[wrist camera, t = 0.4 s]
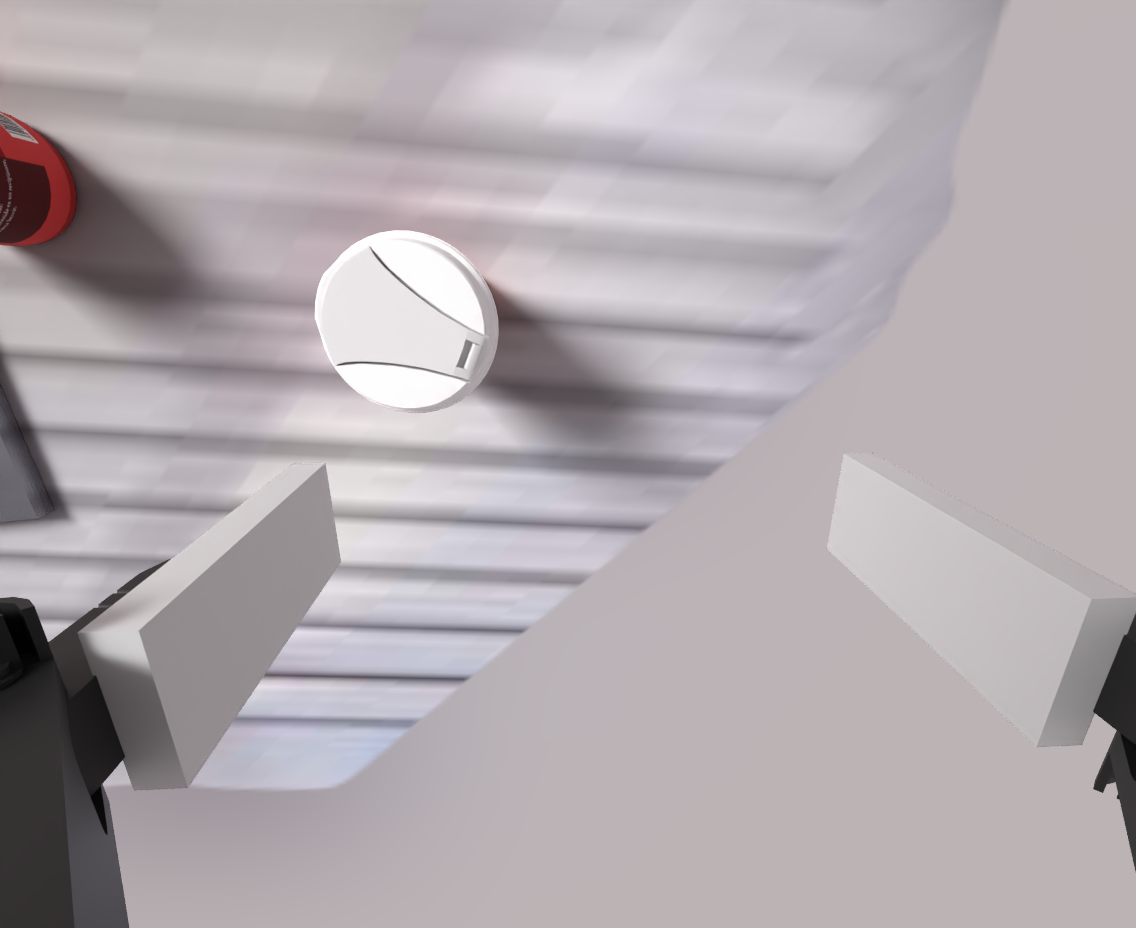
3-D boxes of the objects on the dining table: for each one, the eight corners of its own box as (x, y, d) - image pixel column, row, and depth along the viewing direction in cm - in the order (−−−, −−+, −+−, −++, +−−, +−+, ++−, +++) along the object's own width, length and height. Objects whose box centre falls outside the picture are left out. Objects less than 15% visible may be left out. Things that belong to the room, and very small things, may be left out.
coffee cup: (528, 276, 38) (524, 277, 23) (487, 385, 40) (460, 445, 26) (411, 224, 36) (331, 191, 22) (375, 340, 38) (281, 378, 24)
